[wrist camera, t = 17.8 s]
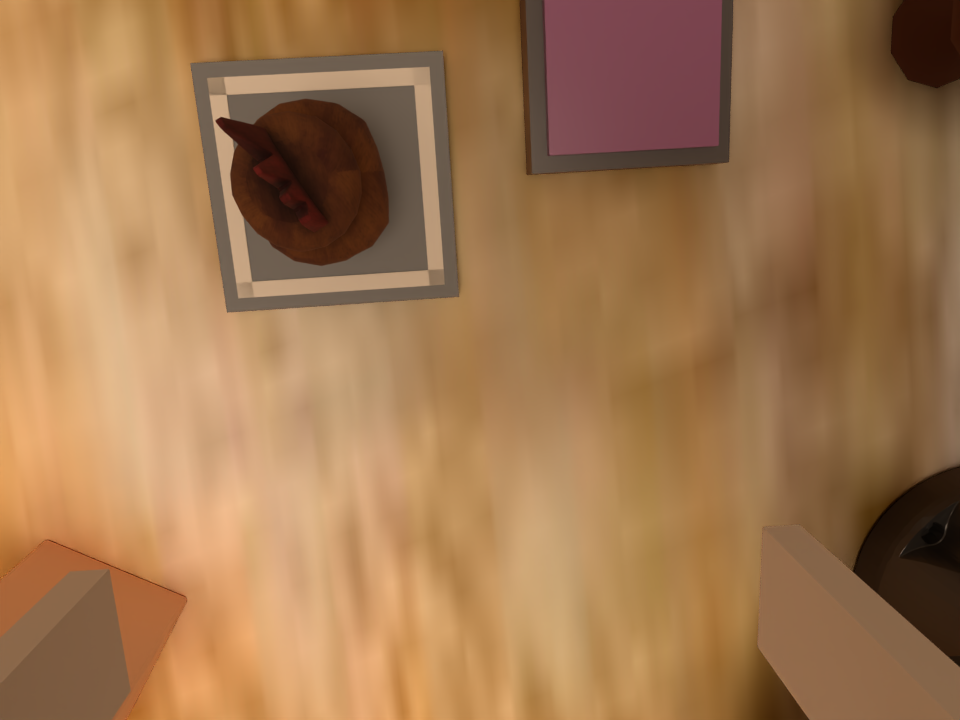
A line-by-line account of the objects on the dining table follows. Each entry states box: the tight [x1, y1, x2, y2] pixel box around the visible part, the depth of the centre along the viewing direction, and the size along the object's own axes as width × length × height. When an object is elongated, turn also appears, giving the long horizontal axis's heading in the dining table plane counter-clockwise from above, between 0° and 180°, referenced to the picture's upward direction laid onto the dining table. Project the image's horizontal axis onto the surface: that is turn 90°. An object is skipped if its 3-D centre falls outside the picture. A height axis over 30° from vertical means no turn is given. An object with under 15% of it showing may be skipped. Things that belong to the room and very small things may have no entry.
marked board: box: [190, 51, 459, 312], centre depth 35 cm, size 12×12×1 cm
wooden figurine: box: [215, 99, 389, 266], centre depth 27 cm, size 7×6×15 cm
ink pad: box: [520, 0, 733, 175], centre depth 34 cm, size 10×10×3 cm
